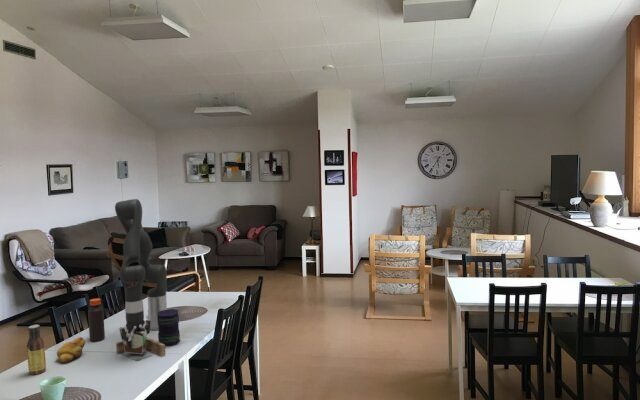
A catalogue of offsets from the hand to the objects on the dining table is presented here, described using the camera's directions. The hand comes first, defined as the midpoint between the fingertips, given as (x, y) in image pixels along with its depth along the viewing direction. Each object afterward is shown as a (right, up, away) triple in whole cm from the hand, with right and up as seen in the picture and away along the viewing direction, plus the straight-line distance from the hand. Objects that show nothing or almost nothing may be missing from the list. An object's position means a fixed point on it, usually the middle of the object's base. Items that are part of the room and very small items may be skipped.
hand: (136, 346), depth 211 cm
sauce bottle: (-35, -6, -16) cm, 39 cm away
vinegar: (-27, -3, +20) cm, 34 cm away
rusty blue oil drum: (+10, -3, +14) cm, 18 cm away
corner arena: (+2, -4, +1) cm, 4 cm away
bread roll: (-29, -5, -2) cm, 30 cm away
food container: (0, -2, +1) cm, 3 cm away
